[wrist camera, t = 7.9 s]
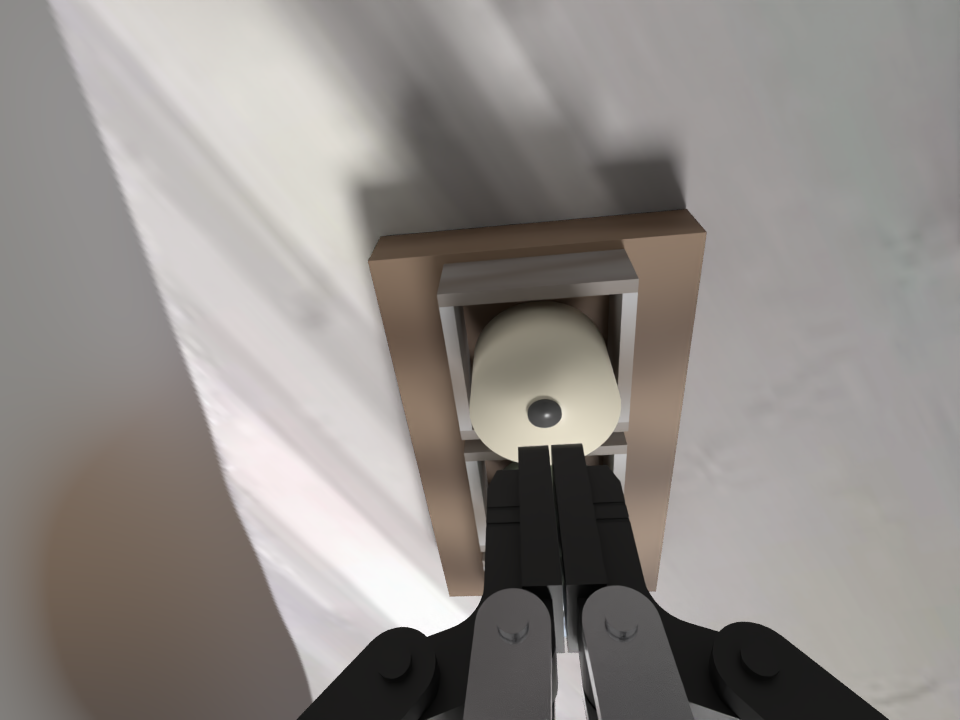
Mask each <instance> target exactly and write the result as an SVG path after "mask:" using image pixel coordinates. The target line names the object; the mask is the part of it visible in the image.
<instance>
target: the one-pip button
mask: <svg viewBox="0 0 960 720" xmlns="http://www.w3.org/2000/svg"><path fill="white" fill-rule="evenodd" d="M469 411H470V419H471V423H472V426H473V428H474V431H475V432H476V434H477V435H478V437H479V438H480V439H481V441H482V442H483V443H484V444H485V445H486V446H487V447H488V448H489V449H491V450H492V451H494V452H495V453H497V454H498V455H500V456H502V457H504V458H507V459H509V460H511V461H515V462H518V447H523V446H542V445H548V446H549V455H550V465H552V462H551V445H559V444H578V443H582V445H583V450H584V455H585V456H586V455H587V454H589V453H591V452H593V451H594V450H596V449H597V448H598V447H600V446H601V445H602V444H603V443H604V442H605V441H606V440H607V439H608V438H609V437H610V435H611V434H612V432H613V431H614V429H615V427H616V425H617V423H618V420H619V417H620V412H621V398H620V394H619V390H618V386H617V383H616V379H615V376H614V373H613V369H612V366H611V362H610V359H609V355H608V352H607V348H606V345H605V341H604V339H603V336H602V333H601V332H600V330H599V328H598V327H597V325H596V324H595V323H594V322H593V321H592V320H591V319H590V318H589V317H588V316H587V315H586V314H584V313H583V312H581V311H580V310H578V309H576V308H574V307H571V306H569V305H566V304H563V303H558V302H552V301H533V302H526V303H522V304H518V305H516V306H513V307H511V308H508V309H507V310H505V311H503V312H501V313H500V314H498V315H497V316H495V317H494V318H493V319H492V320H491V321H490V322H489V323H488V324H487V325H486V326H485V327H484V329H483V330H482V332H481V334H480V335H479V337H478V340H477V342H476V346H475V350H474V361H473V372H472V384H471V396H470V407H469Z"/></svg>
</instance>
